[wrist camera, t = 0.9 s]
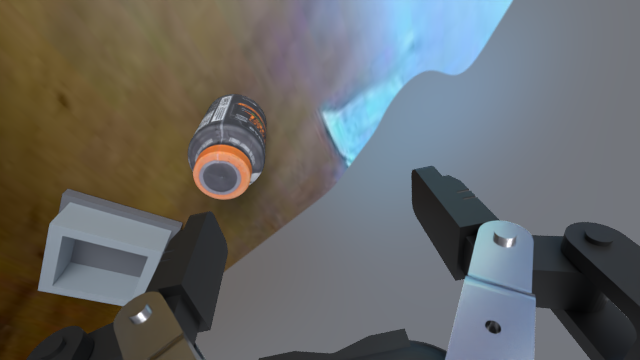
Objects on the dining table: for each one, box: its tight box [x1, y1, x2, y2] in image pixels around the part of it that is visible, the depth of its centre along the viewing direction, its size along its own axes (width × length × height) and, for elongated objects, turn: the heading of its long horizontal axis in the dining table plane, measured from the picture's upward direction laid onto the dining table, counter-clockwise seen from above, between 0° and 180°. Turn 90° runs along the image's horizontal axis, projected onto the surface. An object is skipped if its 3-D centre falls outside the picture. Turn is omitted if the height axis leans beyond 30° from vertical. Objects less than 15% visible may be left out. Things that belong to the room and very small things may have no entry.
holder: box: [38, 189, 182, 306], centre depth 35 cm, size 12×12×4 cm
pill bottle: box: [188, 94, 266, 200], centre depth 26 cm, size 6×6×11 cm
